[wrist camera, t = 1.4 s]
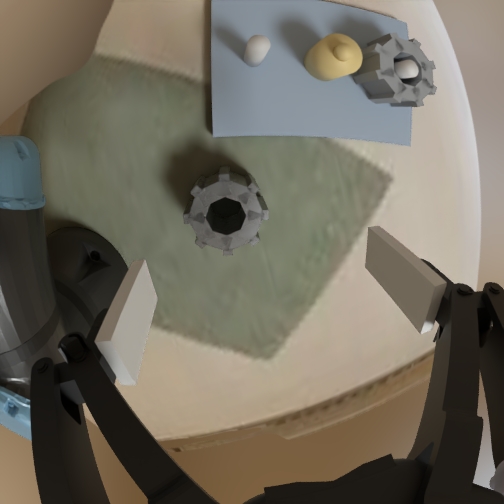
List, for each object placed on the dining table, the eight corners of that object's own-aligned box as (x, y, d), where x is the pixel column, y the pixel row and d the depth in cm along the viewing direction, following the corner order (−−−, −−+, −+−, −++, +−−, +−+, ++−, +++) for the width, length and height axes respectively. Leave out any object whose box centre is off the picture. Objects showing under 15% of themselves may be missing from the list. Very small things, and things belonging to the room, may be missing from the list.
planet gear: (210, 244, 32) (207, 265, 27) (179, 186, 28) (170, 198, 24) (271, 217, 31) (279, 235, 26) (244, 155, 28) (247, 161, 23)
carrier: (213, 136, 26) (208, 140, 20) (212, -1, 19) (208, -31, 13) (404, 145, 28) (442, 154, 21) (401, 25, 21) (436, 12, 14)
